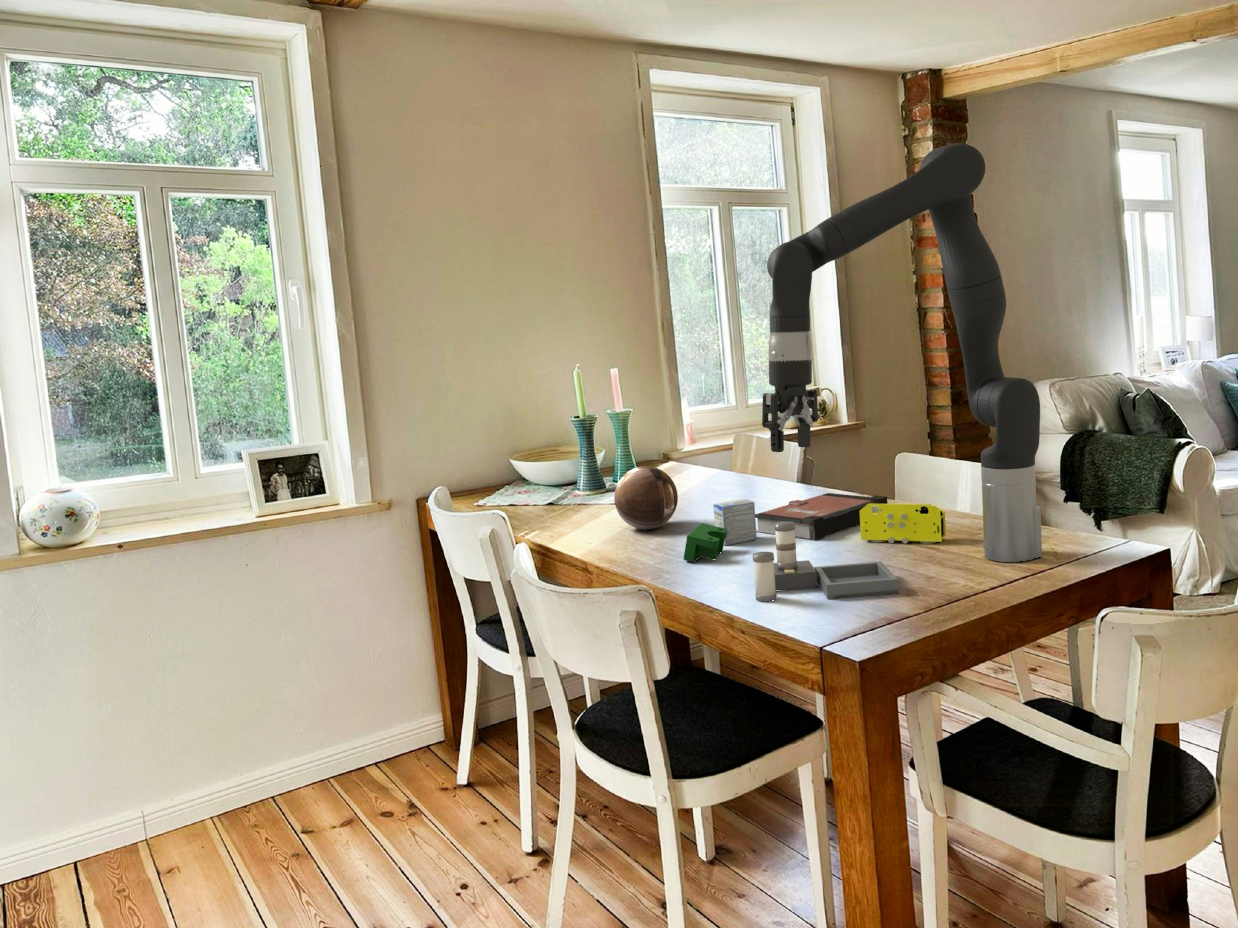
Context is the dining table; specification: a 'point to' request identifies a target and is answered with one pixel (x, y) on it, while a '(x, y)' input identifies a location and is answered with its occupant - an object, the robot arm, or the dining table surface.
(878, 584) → the parts tray
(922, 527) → the yellow toy chassis
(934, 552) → the dining table surface
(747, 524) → the medicine box
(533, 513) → the dining table surface
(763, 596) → the fuse
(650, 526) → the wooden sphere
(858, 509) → the book
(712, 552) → the clamp
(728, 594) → the dining table surface
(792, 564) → the ball
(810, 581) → the block
